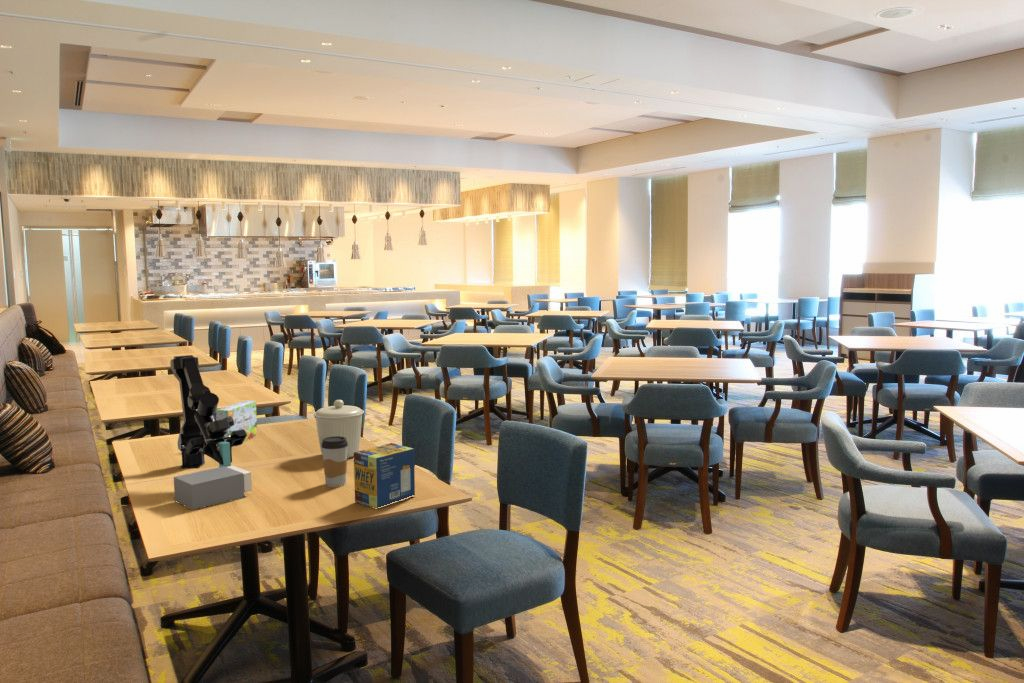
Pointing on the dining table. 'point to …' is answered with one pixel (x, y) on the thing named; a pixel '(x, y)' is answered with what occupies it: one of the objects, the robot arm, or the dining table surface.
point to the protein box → (384, 474)
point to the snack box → (240, 417)
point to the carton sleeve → (209, 487)
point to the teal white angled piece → (225, 454)
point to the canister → (340, 424)
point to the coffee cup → (335, 460)
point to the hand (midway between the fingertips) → (227, 463)
